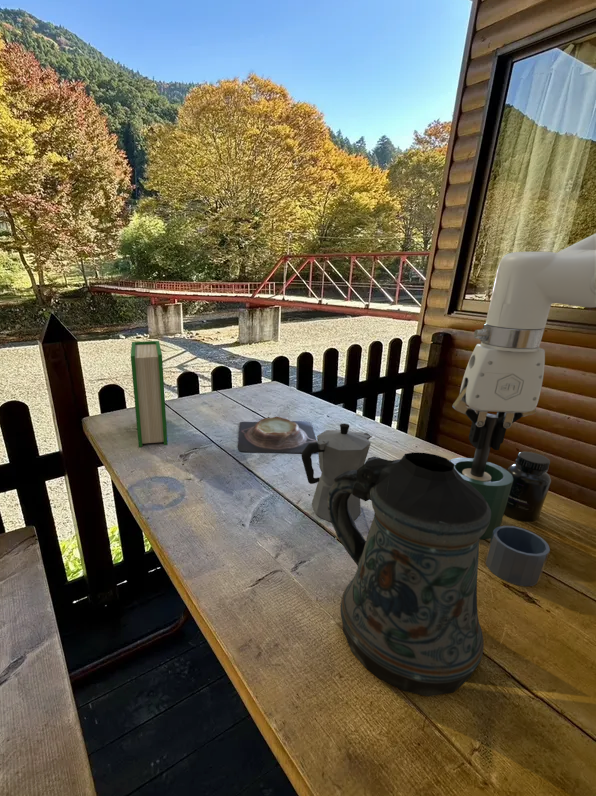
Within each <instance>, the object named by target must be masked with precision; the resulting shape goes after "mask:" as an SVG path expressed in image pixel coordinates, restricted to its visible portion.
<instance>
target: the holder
mask: <svg viewBox="0 0 596 796" xmlns="http://www.w3.org/2000/svg"><path fill="white" fill-rule="evenodd" d="M550 552H551V549H550V545H549V543H548V542H547V540H545V538H542V537H541V536H540V535H538V534H536V533H535V532H532V531H530V530H528V529H525V528H522V527H518V526H515V525H500V526H499V527H497V528H495V529H494V530H493V533H492V537H491V538H490V540H489V545H488V548H487V552H486V555H485V566H486V567H487V569H488V570H489V571H490V573H492V574H493V575H495V576H496V577H497V578H499V579H500V580H503V581H505V582H507V583H510V584H512V585H515V586H520V587H533V586H536V585H538V583H539V582H540V581H541V579H542V575H543V573H544V569H545V567H546V563H547V561H548V557H549V555H550Z"/></svg>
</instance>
